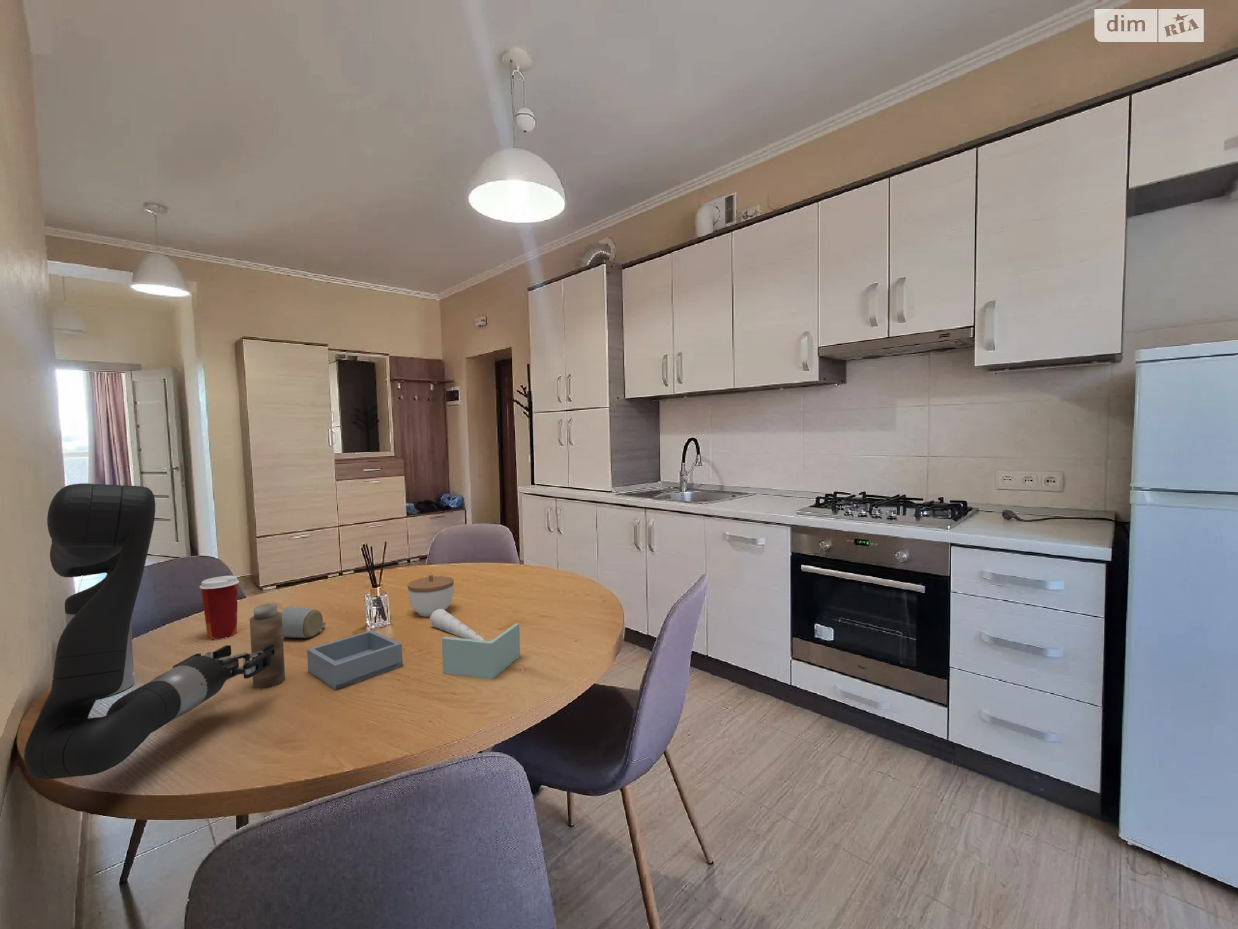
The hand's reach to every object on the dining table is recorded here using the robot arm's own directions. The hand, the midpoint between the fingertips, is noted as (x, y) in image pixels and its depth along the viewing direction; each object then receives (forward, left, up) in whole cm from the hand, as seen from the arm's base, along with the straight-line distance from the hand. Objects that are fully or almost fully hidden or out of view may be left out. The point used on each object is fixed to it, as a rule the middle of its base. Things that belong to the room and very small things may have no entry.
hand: (250, 649), depth 102 cm
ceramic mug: (+19, +28, -9) cm, 35 cm away
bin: (+18, -5, -9) cm, 20 cm away
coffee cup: (+6, +45, -9) cm, 46 cm away
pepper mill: (+4, +3, -9) cm, 10 cm away
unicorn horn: (+44, -6, -10) cm, 45 cm away
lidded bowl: (+49, +16, -9) cm, 52 cm away
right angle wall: (+36, -26, -9) cm, 45 cm away
